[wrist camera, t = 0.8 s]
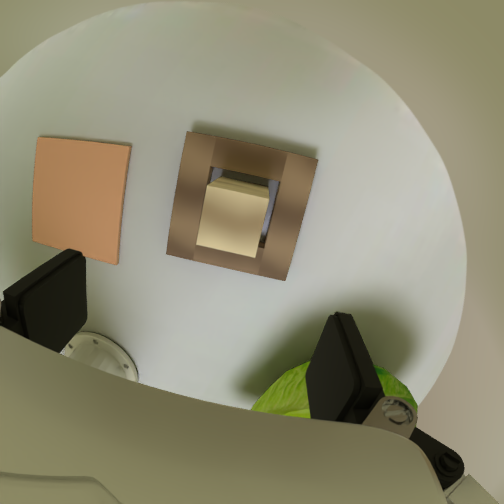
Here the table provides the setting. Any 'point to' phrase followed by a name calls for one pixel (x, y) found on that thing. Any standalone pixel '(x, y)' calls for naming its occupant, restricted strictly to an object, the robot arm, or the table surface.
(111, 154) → the pad
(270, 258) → the pocket block
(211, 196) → the maple block
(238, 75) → the table surface
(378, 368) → the lettuce
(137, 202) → the table surface
